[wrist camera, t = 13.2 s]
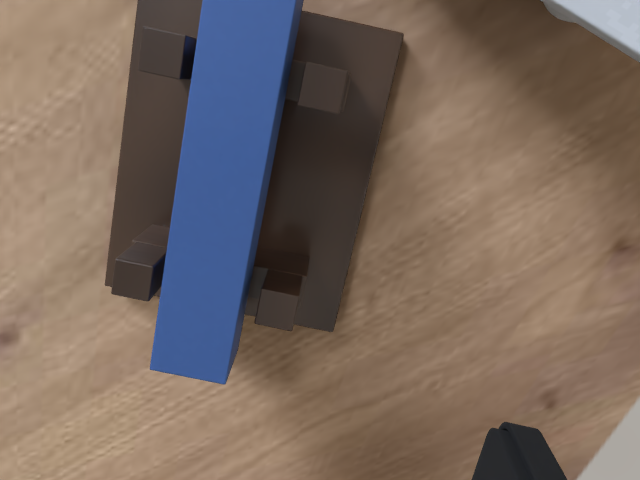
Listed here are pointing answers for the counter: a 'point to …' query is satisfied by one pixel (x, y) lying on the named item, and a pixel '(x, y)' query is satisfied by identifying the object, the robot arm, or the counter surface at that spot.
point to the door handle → (604, 20)
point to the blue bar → (223, 182)
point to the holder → (288, 165)
